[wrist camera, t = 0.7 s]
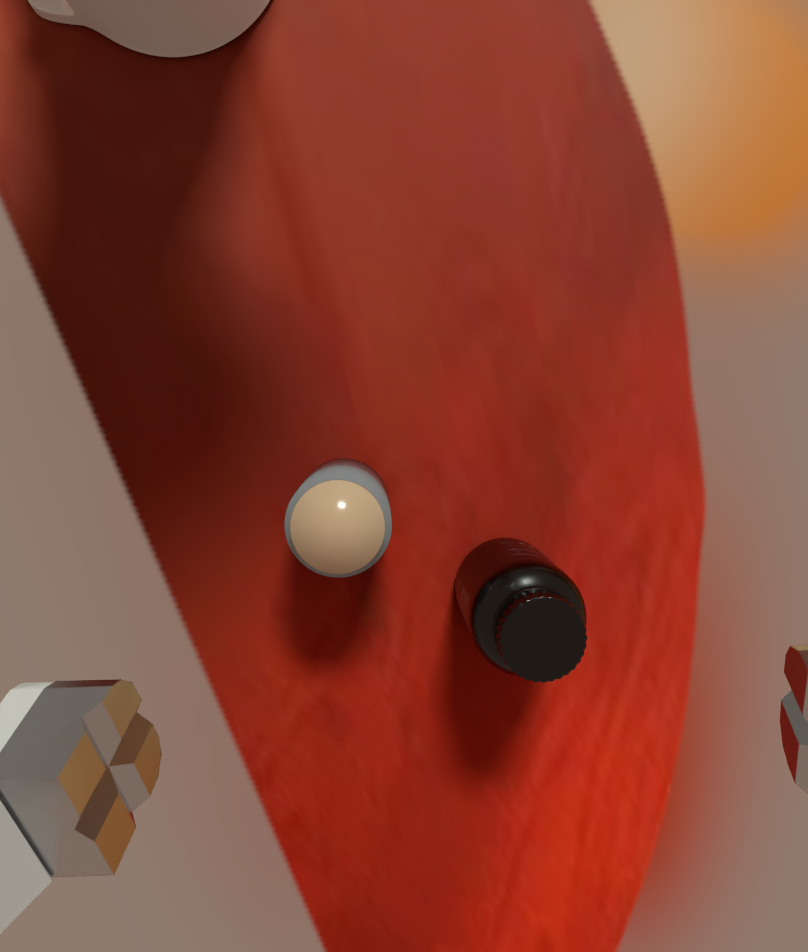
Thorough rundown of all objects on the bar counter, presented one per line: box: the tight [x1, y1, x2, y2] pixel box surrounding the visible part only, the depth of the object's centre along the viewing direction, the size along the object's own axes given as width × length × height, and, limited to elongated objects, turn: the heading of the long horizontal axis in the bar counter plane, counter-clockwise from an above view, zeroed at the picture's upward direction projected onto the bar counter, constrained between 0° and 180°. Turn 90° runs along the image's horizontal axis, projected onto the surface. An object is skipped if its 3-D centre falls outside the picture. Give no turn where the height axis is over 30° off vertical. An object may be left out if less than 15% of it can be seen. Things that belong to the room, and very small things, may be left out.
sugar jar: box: [285, 459, 392, 578], centre depth 47 cm, size 6×6×9 cm
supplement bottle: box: [455, 538, 587, 683], centre depth 46 cm, size 7×7×12 cm
